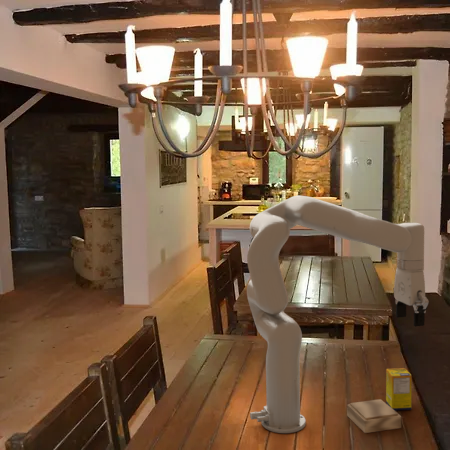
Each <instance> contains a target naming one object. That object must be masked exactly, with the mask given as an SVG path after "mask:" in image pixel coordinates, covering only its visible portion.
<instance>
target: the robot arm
mask: <svg viewBox="0 0 450 450" xmlns="http://www.w3.org/2000/svg"><path fill="white" fill-rule="evenodd" d="M295 226H296V227H297V226H301V227H303V228H306V229H310V230H314V231H317V232H321V233H324V234H327V235H330V236H333V237H337V238H339V239H344V240H347V241H351V242H356V243H357V242H358V243H362V244H366V245H370V246H374V247H377V248H379V249H382V250H386V251H389V252H393V253H396V255H397V256H396V258H397V259H396V270H395V275H394V284H393V285H394V286H393V288H392V290H393V297H394V298H395V301H394V303H395V317H396V318H406V317H407V306H412V307H413V310H414V312H413V326H414V327H424V326H425V318H426V317H425V314H426V311H427V309H428V305H429V302H430V301H429V299H428V298H427V296H426V281H425V275H424V274H425V273H424V272H425V227H424V225H423V224H422V223H420V222H419V223H418V222H402V223H394V222H390V221H387V220H383V219H380V218H378V217H377V218H376V217H373V216H370V215H367V214H365V213H362V212H360V211H357V210H355V209H354V210H353V209H350V208H347V207H345V206H342V205H337V204H334V203H332V202H328V201H326V200H321V199H319V198H315V197H312V196H307V195H294V196H291V197H289V198H287V199H285V200H282V201H281V202H279V203H277V204H275V205H273V206H271V207H269V208H267V209H265V210H263V211H260V212H259V213H257V214H256V215H255V216H254V217H253V218H252V219H251V221H250V223H249V233H250V235H251V236H252V240H251V243H249V244H250V245H249V247H248V250H247V255H246V258H247V259H246V260H247V261H246V262H247V268H248V272H249V275H250V280H249V282H248V283H247V287H246V297H247V301H248V305H249V309H250V311H251V314H252V318H253V321H254V324H255V327H256V330H257V332H258V334H260V336H261V337H262V338H263V339H264V340H265V342H267V350H266V355H265V381H266V382H265V383H266V385H265V386H266V388H265V389H266V396H265V397H266V405H264V406H263V409H261V410H260V411H253V412H251V411H250V414H249V417H250V419H251V420H257V421H256V422H257V423H260V422H261V425H262V427H263V428H265V430H267V431H270V432H272V433H276V434H292V433H296V432H299V431H301V430H303V429H304V428H305V427H306V423H307V421H306V418H305V416H304V415H303V414H301V386H300V385H301V382H300V379H301V378H300V377H301V376H300V371H301V370H300V369H301V368H300V364H301V363H300V362H301V361H300V357H301V348H302V342H303V333H302V330H301V327H300V325H299V324H298V322H297V321H296V320H294V318H292V316H289V314H287V313H285V309H286V308H287V306H288V303H289V294H288V291H287V288H286V284H285V281H284V278H283V277H284V276H283V275H282V271H281V268H280V267H281V266H280V261H279V255H280V252H281V250H282V248H283V246H284V245H285V243H286V242H287V241H288V239H289V237H290V234H291V233H290V232H291V229H293V228H294V227H295Z"/></svg>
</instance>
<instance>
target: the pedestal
mask: <svg viewBox="0 0 450 450" xmlns="http://www.w3.org/2000/svg"><path fill="white" fill-rule="evenodd" d="M346 407H347V408H346V416H347V417H348V418H349V419H350V420H351V421H352V422H353V423H354V424H355V425H356V426H357V427H358V428H359V429H360V430H361V431H362V432H363V433H364V434H367V433H375V432H382V431H389V430H390V431H391V430H396V429H402V416H401V415H400V414H399V413H398V412H397V410H395V411H394V410H393V409H392V408H391V407H390V406H388V404H387V403H386V402H385V401H383V400H382V399H380V398H379V399H372V400H364V401H358V402H357V401H356V402H349V403H348V404H347V405H346Z"/></svg>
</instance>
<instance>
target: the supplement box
mask: <svg viewBox="0 0 450 450" xmlns="http://www.w3.org/2000/svg"><path fill="white" fill-rule="evenodd" d="M385 371H386V372H385V374H386V375H385V376H386V377H385V378H386V379H385V380H386V381H385V386H386V387H385V389H386V390H385V394H386V395H385V401H386V402H385V403H386V404H387V405H388V406H390V407H391V408H392V409H393V410H394V411H409V410H410V411H411V410H412V380H413V379H412V374H411V373H410V372H409V371H408V370H407V368H405V367H402V368H401V367H400V368H399V367H398V368H386V369H385Z"/></svg>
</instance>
